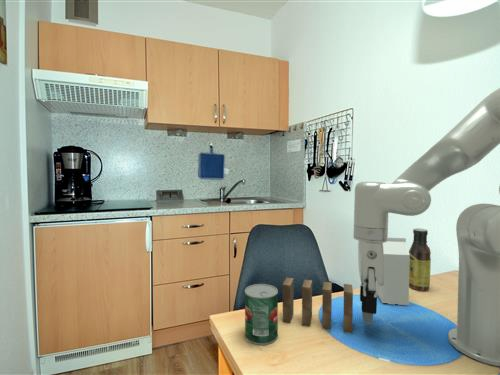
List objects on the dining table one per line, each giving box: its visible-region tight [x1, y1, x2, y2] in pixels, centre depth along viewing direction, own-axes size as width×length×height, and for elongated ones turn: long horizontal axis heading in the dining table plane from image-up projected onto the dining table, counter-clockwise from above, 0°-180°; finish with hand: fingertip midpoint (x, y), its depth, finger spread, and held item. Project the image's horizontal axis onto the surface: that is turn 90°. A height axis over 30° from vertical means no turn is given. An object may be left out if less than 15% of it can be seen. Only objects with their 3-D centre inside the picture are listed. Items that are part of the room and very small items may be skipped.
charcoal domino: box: [361, 280, 374, 325], centre depth 68 cm, size 2×5×10 cm, turn 162°
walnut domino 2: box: [301, 279, 313, 327], centre depth 72 cm, size 2×5×10 cm, turn 162°
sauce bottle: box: [408, 227, 432, 292], centre depth 92 cm, size 7×6×20 cm
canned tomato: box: [244, 283, 279, 346], centre depth 66 cm, size 8×8×11 cm
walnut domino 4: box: [342, 283, 354, 334], centre depth 69 cm, size 2×5×10 cm, turn 162°
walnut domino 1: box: [282, 277, 295, 324], centre depth 74 cm, size 2×5×10 cm, turn 162°
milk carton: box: [376, 237, 410, 306], centre depth 84 cm, size 7×7×19 cm
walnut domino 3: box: [321, 281, 333, 331], centre depth 71 cm, size 2×5×10 cm, turn 162°
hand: (367, 306), depth 68 cm, fingers closed on charcoal domino, 4 cm apart
